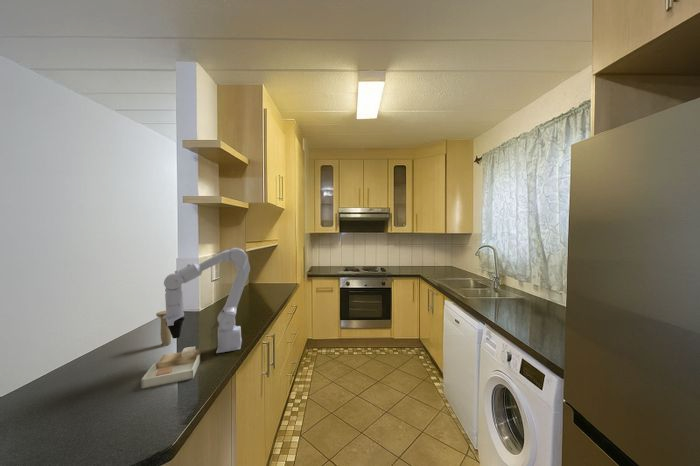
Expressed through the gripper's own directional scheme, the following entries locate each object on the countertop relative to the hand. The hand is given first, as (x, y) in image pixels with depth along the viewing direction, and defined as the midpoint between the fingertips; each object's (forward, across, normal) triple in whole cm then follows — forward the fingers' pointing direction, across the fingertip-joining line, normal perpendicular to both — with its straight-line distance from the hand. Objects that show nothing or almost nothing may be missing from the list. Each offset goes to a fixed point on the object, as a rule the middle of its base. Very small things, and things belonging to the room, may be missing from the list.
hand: (176, 337), depth 104 cm
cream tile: (+7, +2, +4) cm, 8 cm away
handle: (+10, -20, -9) cm, 24 cm away
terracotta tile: (+7, +12, -1) cm, 14 cm away
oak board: (+9, +2, +1) cm, 10 cm away
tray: (+9, +11, +1) cm, 15 cm away
